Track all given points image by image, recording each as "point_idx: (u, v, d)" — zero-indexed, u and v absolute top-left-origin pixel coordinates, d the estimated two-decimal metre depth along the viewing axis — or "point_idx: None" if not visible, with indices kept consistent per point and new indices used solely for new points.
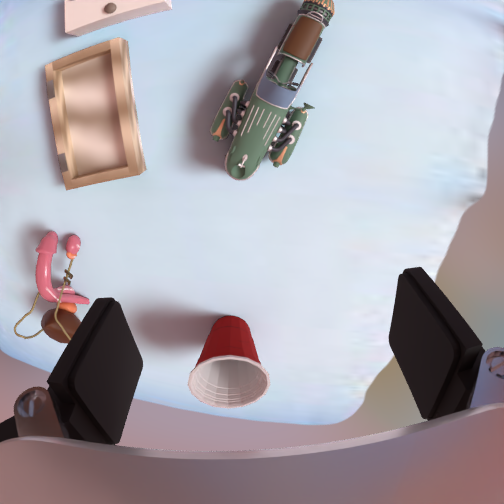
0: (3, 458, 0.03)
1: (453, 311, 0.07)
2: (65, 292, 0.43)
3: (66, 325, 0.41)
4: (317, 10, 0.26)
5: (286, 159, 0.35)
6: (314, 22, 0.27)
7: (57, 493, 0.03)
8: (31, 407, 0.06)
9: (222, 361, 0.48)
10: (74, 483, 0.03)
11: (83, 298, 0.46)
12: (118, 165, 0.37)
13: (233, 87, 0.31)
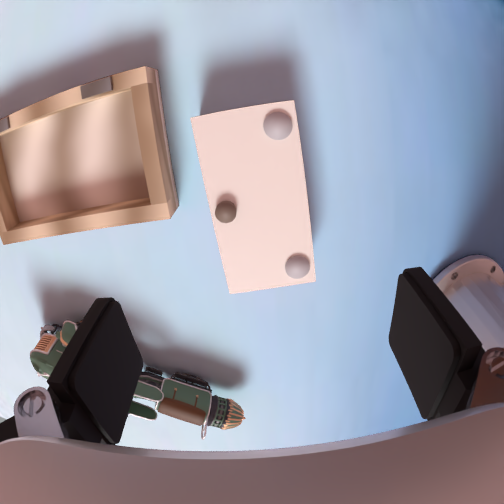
0: (3, 458, 0.03)
1: (453, 311, 0.07)
2: None
3: None
4: (215, 423, 0.30)
5: None
6: (199, 423, 0.30)
7: (57, 493, 0.03)
8: (31, 407, 0.06)
9: None
10: (74, 483, 0.03)
11: None
12: (14, 200, 0.23)
13: None
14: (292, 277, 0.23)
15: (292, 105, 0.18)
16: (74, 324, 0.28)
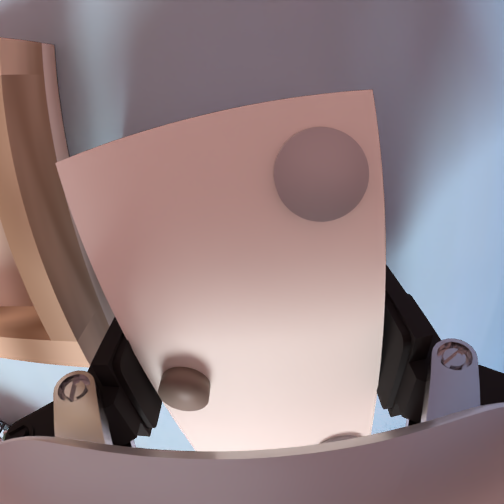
0: (3, 458, 0.03)
1: (407, 302, 0.08)
2: None
3: None
4: None
5: None
6: None
7: (57, 493, 0.03)
8: (73, 391, 0.06)
9: None
10: (74, 483, 0.03)
11: None
12: None
13: None
14: None
15: (368, 106, 0.05)
16: None
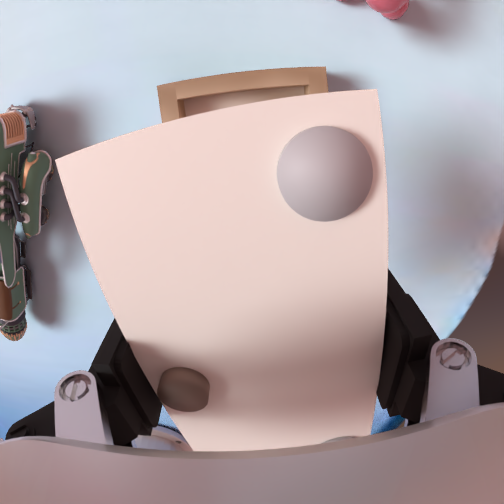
0: (3, 458, 0.03)
1: (406, 302, 0.08)
2: None
3: None
4: (4, 326, 0.25)
5: None
6: None
7: (57, 493, 0.03)
8: (74, 391, 0.06)
9: None
10: (74, 483, 0.03)
11: None
12: (214, 96, 0.21)
13: (32, 228, 0.22)
14: None
15: (372, 106, 0.05)
16: (49, 170, 0.21)
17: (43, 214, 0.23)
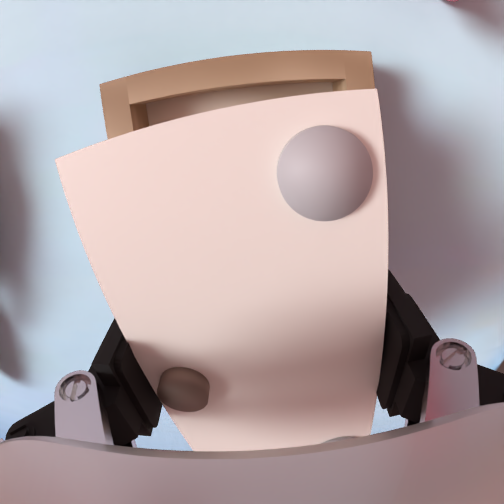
0: (3, 458, 0.03)
1: (406, 302, 0.08)
2: None
3: None
4: None
5: None
6: None
7: (57, 493, 0.03)
8: (74, 391, 0.06)
9: None
10: (74, 483, 0.03)
11: None
12: (192, 97, 0.13)
13: None
14: None
15: (372, 105, 0.05)
16: None
17: None
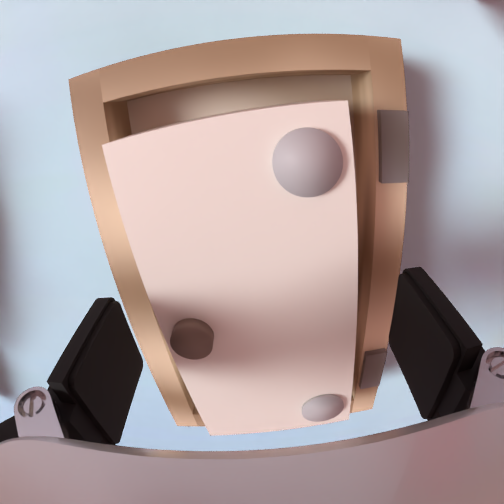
0: (3, 458, 0.03)
1: (453, 311, 0.07)
2: None
3: None
4: None
5: None
6: None
7: (57, 493, 0.03)
8: (31, 407, 0.06)
9: None
10: (74, 483, 0.03)
11: None
12: (182, 93, 0.11)
13: None
14: (312, 420, 0.13)
15: (343, 113, 0.07)
16: None
17: None
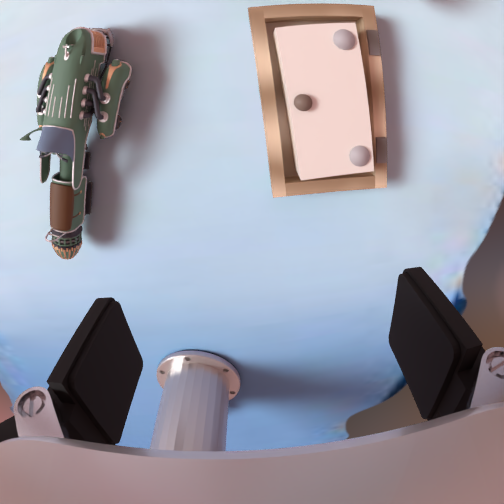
0: (3, 458, 0.03)
1: (453, 311, 0.07)
2: None
3: None
4: (59, 240, 0.29)
5: (42, 70, 0.22)
6: (55, 227, 0.28)
7: (57, 493, 0.03)
8: (31, 407, 0.06)
9: None
10: (74, 483, 0.03)
11: None
12: (288, 23, 0.23)
13: (108, 127, 0.25)
14: (355, 165, 0.25)
15: (354, 26, 0.20)
16: (129, 77, 0.24)
17: (117, 118, 0.26)
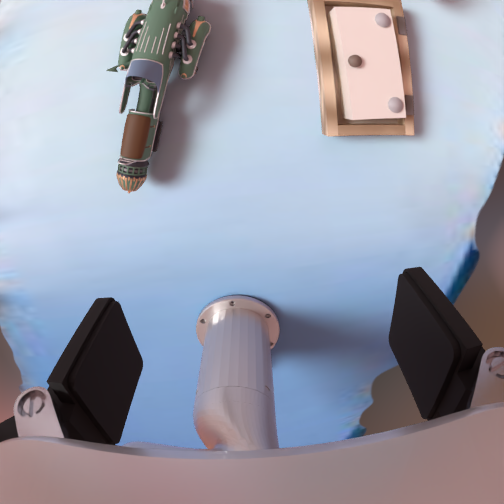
0: (3, 458, 0.03)
1: (453, 311, 0.07)
2: None
3: None
4: (128, 169, 0.33)
5: (129, 19, 0.26)
6: (127, 155, 0.32)
7: (57, 493, 0.03)
8: (31, 407, 0.06)
9: None
10: (74, 483, 0.03)
11: None
12: None
13: (191, 69, 0.29)
14: (392, 111, 0.30)
15: (389, 11, 0.25)
16: (208, 32, 0.29)
17: None
